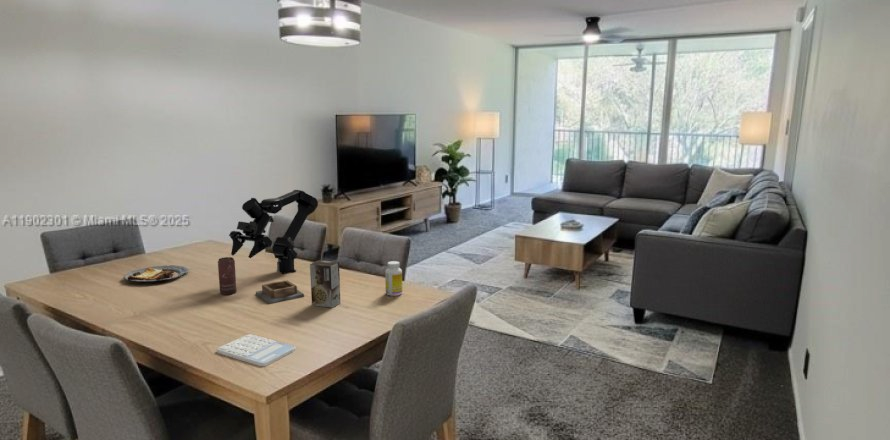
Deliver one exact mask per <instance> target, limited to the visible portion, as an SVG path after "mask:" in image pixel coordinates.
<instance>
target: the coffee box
mask: <svg viewBox="0 0 890 440" xmlns="http://www.w3.org/2000/svg"><path fill="white" fill-rule="evenodd" d="M309 273H310V276H309V277H310V291H311V292H310V294H311V306H315V307H324V308H331V309H332V308H335V307H336V306H339V304H341V283H340V281H341V280H340V279H341V278H340V276H341V275H340V261H333V260H322V259H321V260H320V259H318V260H316V261H313V262H311V263H310V264H309Z"/></svg>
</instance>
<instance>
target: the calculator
mask: <svg viewBox="0 0 890 440" xmlns="http://www.w3.org/2000/svg"><path fill="white" fill-rule="evenodd" d="M296 348H297V347H296V346H294V345H292V344H288V343H285V342H281V341H277V340H274V339H270V338H266V337H263V336H259V335H256V334H251V333H248V334H246V335H243V336H241V337H239V338H237V339H235V340H232V341H230V342H228V343H226V344H223V345H220V346H219V347H217V348H216V353H217V354H220V355H224V356H226V357H229V358H233V359H235V360H239V361H243V362H246V363H248V364H252V365H255V366H259V367H267V366H269V365H271V364H272V363H275V362H277V361H279V360H280V359H282V358H284V357H286V356H288V355H289V354H292V353H294V352H295V351H296Z"/></svg>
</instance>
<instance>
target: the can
mask: <svg viewBox="0 0 890 440" xmlns="http://www.w3.org/2000/svg"><path fill="white" fill-rule="evenodd" d="M217 269H218V283H219V293H220V294H221V295H223V296H230V295H231V296H232V295H234V294H236V293H237V282H236V281H237V277H236V275H237V274H236V261H235V258H234V257H233V256H232V257H231V256H226V257H220V258H218V260H217Z"/></svg>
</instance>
